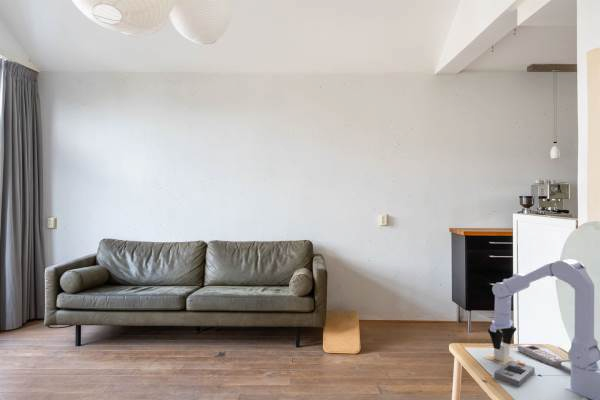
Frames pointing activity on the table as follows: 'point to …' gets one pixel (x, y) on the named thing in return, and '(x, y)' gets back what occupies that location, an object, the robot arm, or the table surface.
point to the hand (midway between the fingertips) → (501, 346)
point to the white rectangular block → (502, 352)
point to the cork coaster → (491, 357)
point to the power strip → (514, 373)
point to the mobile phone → (540, 355)
